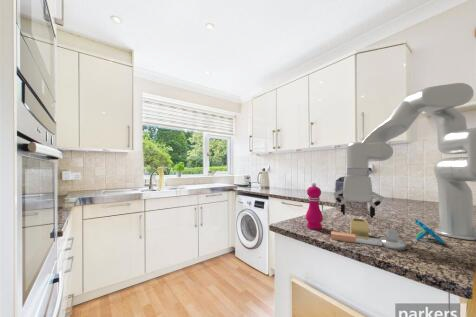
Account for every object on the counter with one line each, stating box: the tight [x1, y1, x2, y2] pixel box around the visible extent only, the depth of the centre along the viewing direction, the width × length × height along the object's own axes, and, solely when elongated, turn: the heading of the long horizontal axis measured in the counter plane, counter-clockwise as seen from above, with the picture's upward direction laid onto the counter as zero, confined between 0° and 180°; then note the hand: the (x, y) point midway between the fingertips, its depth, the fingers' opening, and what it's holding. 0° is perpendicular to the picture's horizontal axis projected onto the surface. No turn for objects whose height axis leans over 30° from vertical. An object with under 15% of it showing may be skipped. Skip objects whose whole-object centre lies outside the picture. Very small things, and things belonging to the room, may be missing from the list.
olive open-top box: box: [349, 217, 370, 238], centre depth 80 cm, size 6×6×6 cm
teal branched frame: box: [414, 218, 445, 245], centre depth 75 cm, size 11×6×10 cm
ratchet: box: [330, 228, 406, 251], centre depth 72 cm, size 22×7×6 cm, turn 65°
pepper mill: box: [305, 182, 324, 231], centre depth 90 cm, size 7×7×20 cm
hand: (357, 215), depth 80 cm, fingers open, 9 cm apart
